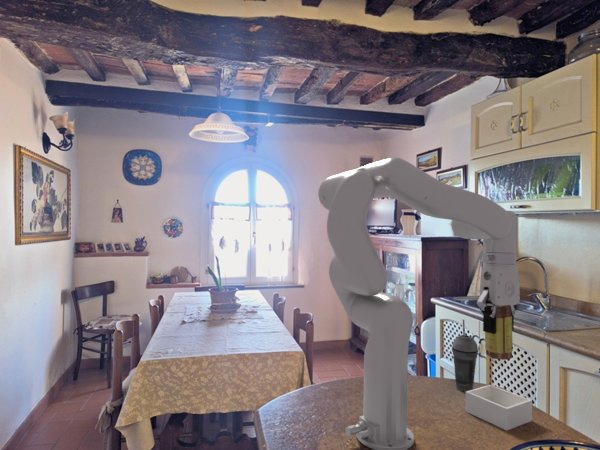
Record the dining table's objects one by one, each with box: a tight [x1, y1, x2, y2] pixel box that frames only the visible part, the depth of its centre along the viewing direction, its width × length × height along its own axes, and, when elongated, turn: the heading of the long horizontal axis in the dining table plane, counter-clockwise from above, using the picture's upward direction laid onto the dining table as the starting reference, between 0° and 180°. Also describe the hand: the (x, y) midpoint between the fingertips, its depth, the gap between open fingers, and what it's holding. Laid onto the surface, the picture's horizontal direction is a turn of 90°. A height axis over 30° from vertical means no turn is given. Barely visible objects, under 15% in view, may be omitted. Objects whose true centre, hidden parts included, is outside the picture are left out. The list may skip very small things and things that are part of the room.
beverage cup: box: [451, 319, 479, 392], centre depth 117 cm, size 7×7×20 cm
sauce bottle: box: [484, 302, 514, 361], centre depth 100 cm, size 6×6×20 cm
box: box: [464, 384, 533, 431], centre depth 100 cm, size 10×11×5 cm
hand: (498, 330), depth 100 cm, fingers closed on sauce bottle, 6 cm apart
